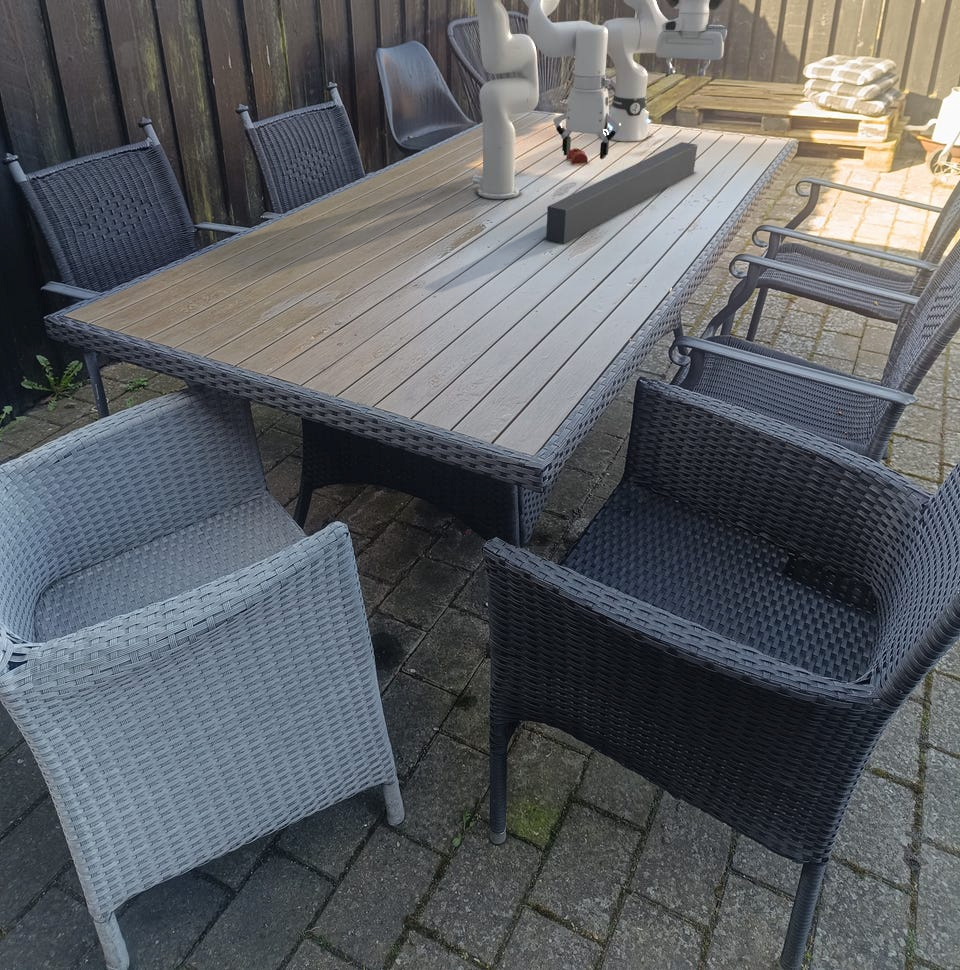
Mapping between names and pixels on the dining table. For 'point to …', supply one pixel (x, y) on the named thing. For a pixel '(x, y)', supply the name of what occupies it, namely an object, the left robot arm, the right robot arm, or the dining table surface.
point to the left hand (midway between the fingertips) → (584, 156)
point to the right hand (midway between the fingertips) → (686, 74)
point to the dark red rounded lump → (577, 156)
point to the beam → (618, 192)
